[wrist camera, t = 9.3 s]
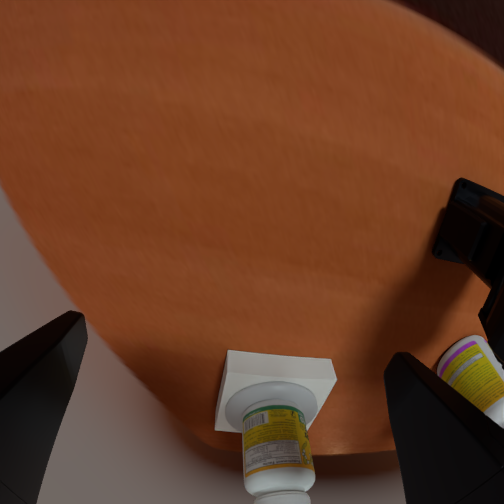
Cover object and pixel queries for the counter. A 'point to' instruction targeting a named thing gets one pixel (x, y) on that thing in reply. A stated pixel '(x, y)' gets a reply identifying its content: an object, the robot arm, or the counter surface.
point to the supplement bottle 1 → (276, 453)
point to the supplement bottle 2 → (475, 375)
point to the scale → (271, 385)
